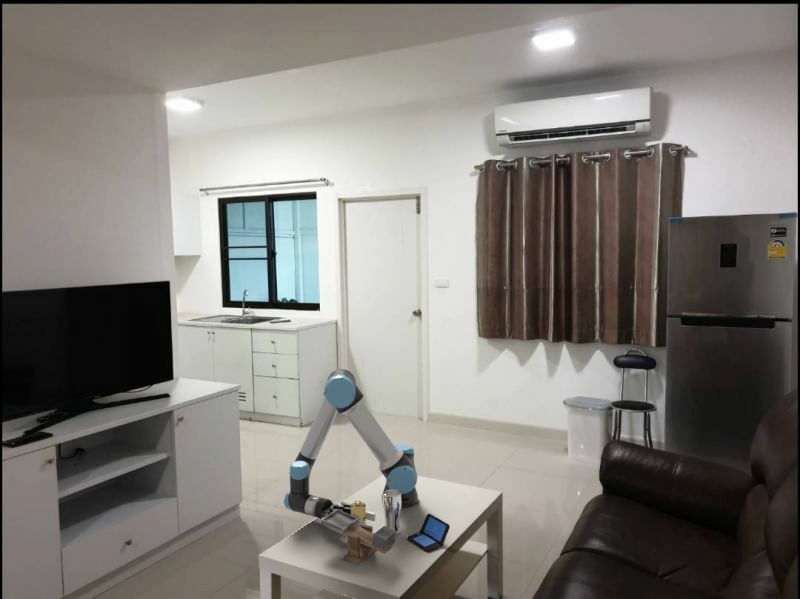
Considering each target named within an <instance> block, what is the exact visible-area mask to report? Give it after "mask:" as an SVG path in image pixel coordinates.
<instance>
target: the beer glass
mask: <svg viewBox="0 0 800 599" xmlns="http://www.w3.org/2000/svg"><path fill="white" fill-rule="evenodd" d="M383 491H384V490H383ZM382 494H383V502H382V509H383V516H384V526H386V527H388V528H391V529H393V530H395V531H397V532H396V535H398V534H400V533H401V527H400V526H401V525H400V518H401V513H402V508H401V492H400V491H399V490H395V489H389V490H386V491H384V493H383V492H382Z"/></svg>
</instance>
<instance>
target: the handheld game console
mask: <svg viewBox="0 0 800 599" xmlns="http://www.w3.org/2000/svg"><path fill="white" fill-rule="evenodd" d="M449 530H450V524H449V523H447V522H445V521H444V520H442V519H440V518H438V517H436V516H435V515H433V514H432V513H427V514H426V517H425V518H424V520H423V523H422V526H421V528H420V530H419V531H418V532H415V533H412V534H410V535H408V536H407V537H406V540H407V541H409V542H410V543H411V544H413V545H414V546H416V547H418V548H419V549H421V550H422V549H423V550H422V551H424V552H425V553H431V551H432V552H433V550H434V551H436V550H438V549H437V548H439V547H441V548H443V547H444V543H445V540H446V539H447V535H448V533H449ZM442 546H443V547H442ZM435 549H436V550H435ZM439 549H440V548H439Z"/></svg>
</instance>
